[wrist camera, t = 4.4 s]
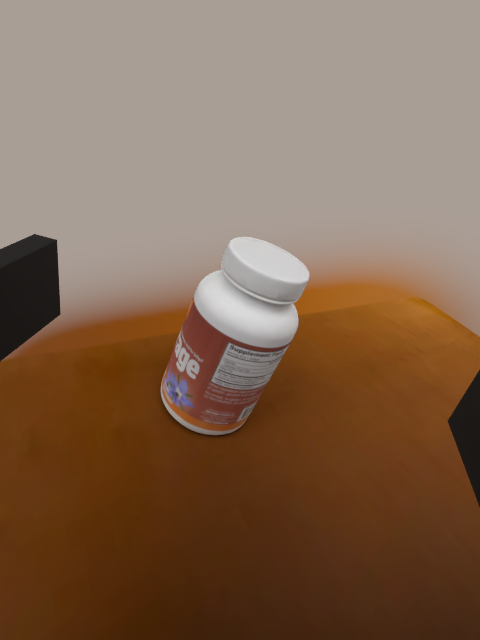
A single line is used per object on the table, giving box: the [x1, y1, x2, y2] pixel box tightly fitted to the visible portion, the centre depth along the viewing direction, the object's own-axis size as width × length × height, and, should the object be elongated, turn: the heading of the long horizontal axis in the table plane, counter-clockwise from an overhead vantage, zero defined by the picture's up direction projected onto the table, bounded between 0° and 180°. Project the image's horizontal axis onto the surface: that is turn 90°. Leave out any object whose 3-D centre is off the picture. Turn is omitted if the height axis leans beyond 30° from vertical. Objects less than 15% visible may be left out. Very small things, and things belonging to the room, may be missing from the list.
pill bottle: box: [161, 237, 310, 435], centre depth 24 cm, size 6×6×11 cm
